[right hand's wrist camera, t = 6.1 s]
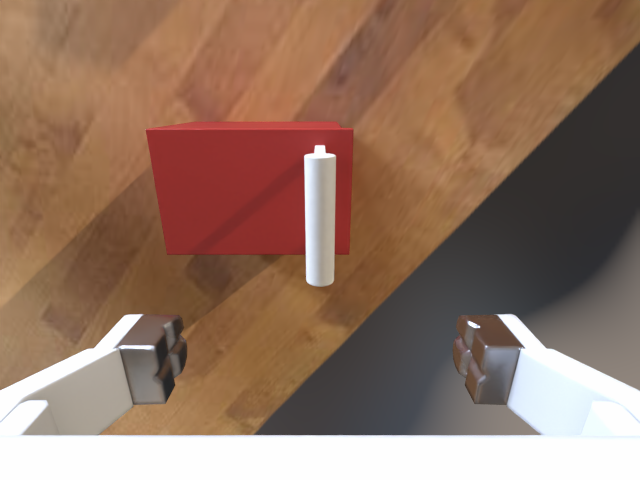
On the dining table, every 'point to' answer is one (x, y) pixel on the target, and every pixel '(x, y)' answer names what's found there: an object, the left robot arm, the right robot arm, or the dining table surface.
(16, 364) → the dining table surface
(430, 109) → the dining table surface
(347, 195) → the lid
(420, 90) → the dining table surface
